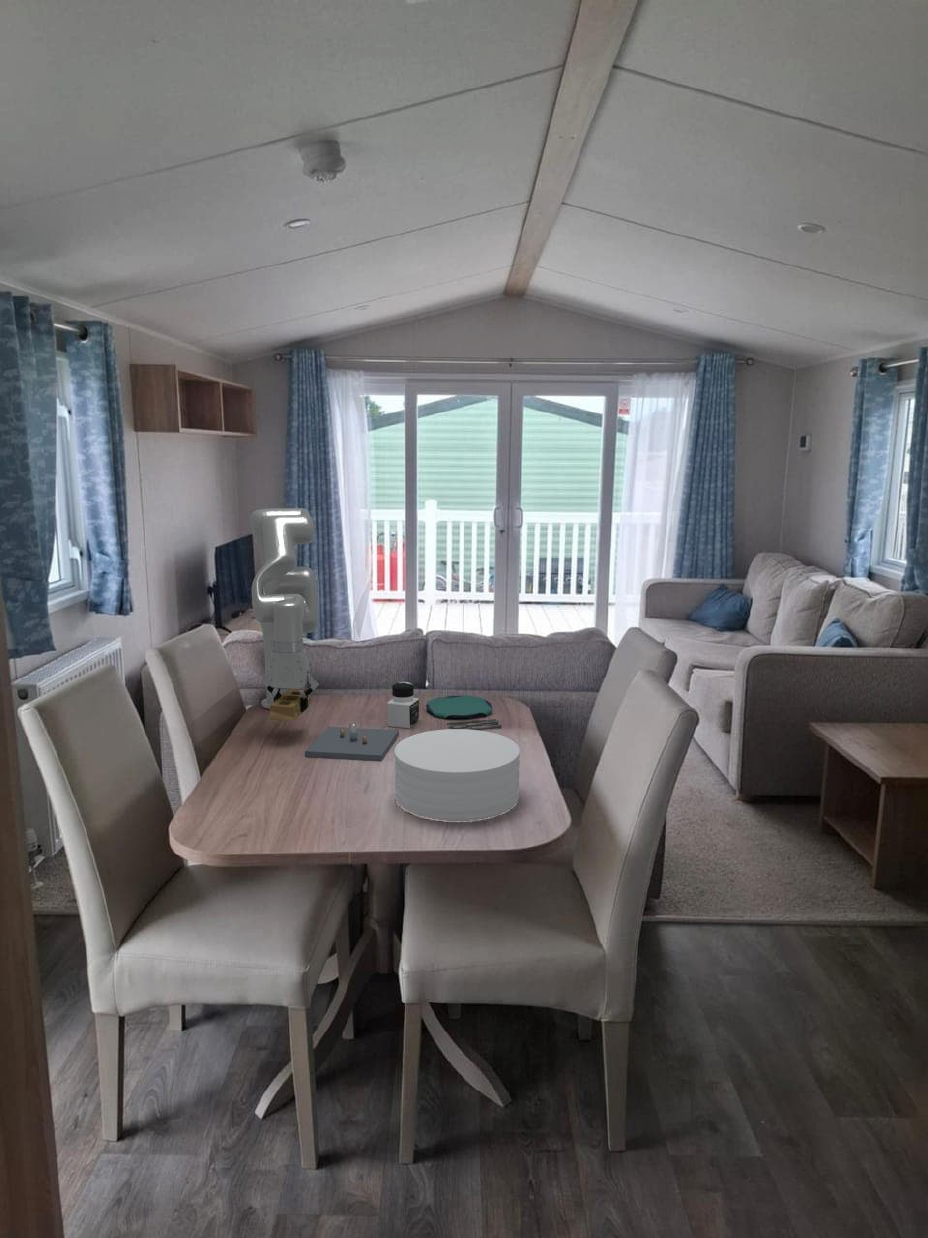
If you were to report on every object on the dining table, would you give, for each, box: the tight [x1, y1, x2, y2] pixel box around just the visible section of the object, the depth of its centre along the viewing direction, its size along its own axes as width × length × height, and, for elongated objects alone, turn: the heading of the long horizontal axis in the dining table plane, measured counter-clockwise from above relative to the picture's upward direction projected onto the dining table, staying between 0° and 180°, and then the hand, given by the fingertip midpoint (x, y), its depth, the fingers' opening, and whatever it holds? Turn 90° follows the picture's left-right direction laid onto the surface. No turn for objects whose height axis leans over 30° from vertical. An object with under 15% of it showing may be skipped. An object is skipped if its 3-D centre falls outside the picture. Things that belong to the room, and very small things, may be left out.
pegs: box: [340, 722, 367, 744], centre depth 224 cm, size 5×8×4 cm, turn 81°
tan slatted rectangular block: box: [269, 689, 312, 722], centre depth 229 cm, size 14×6×4 cm, turn 171°
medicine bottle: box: [386, 681, 420, 729], centre depth 241 cm, size 7×7×12 cm
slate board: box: [304, 726, 400, 762], centre depth 224 cm, size 20×20×2 cm
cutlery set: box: [426, 694, 502, 731], centre depth 251 cm, size 20×30×2 cm, turn 13°
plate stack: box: [393, 728, 521, 821], centre depth 190 cm, size 28×28×12 cm
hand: (291, 709), depth 229 cm, fingers closed on tan slatted rectangular block, 6 cm apart
